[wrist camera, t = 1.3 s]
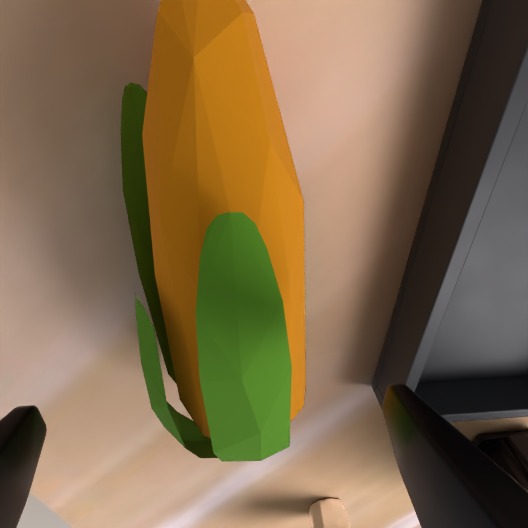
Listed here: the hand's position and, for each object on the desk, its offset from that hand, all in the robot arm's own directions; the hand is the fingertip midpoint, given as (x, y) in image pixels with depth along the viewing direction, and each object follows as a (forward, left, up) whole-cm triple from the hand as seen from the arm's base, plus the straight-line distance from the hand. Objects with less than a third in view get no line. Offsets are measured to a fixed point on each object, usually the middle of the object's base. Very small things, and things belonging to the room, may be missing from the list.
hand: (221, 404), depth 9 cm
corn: (0, 0, -9) cm, 9 cm away
